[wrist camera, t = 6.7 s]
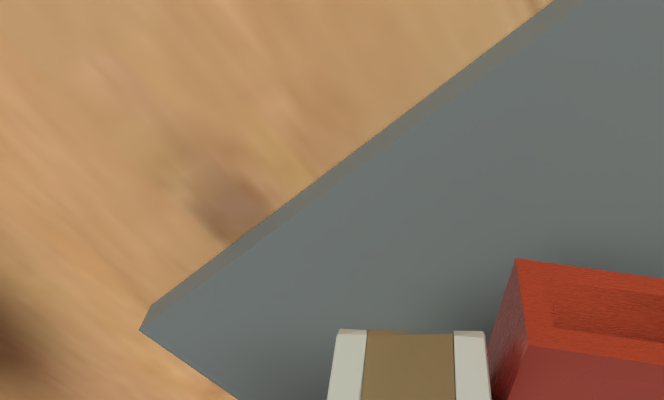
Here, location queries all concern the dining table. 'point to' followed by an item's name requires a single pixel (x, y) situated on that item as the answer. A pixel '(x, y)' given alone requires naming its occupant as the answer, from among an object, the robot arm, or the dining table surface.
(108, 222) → the dining table surface
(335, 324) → the board
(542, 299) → the lever
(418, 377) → the robot arm
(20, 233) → the dining table surface
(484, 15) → the dining table surface
